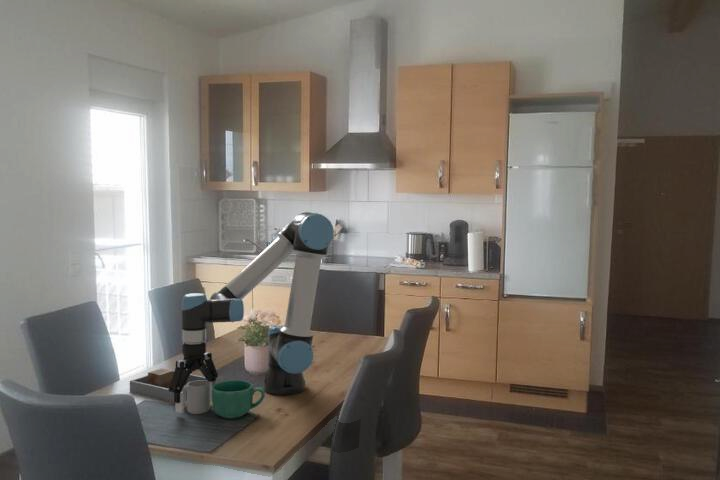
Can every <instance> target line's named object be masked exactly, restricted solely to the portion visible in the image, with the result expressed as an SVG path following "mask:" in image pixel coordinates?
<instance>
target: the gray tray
mask: <svg viewBox="0 0 720 480" xmlns="http://www.w3.org/2000/svg"><path fill="white" fill-rule="evenodd" d="M166 370H169V369H168V368H166ZM170 370H171V371H173V374H174V371H175V370H173V369H170ZM197 380H204V381H208V380H207V379H206V378H205V376H203V375H202V376H201V375H196V374H193V373H191V374H190V375H189V377H188V379H187V381H186V383H185V385H184V386H186V385H187V383H189V382H191V381H197ZM215 384H216V381H213V385H215ZM178 389H179V388H178ZM129 393H132V394H137V395H141V396H145V397H150V398H154V399H157V400H161V401H167V402H171V403H174V404H175V402H174V393H173V392H169V389H167V388H163V387H159V386H154V385H150V384H148V374H147V375H144V376H141V377H137V378H134V379H132V380H129ZM186 399H187V390H186Z"/></svg>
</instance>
